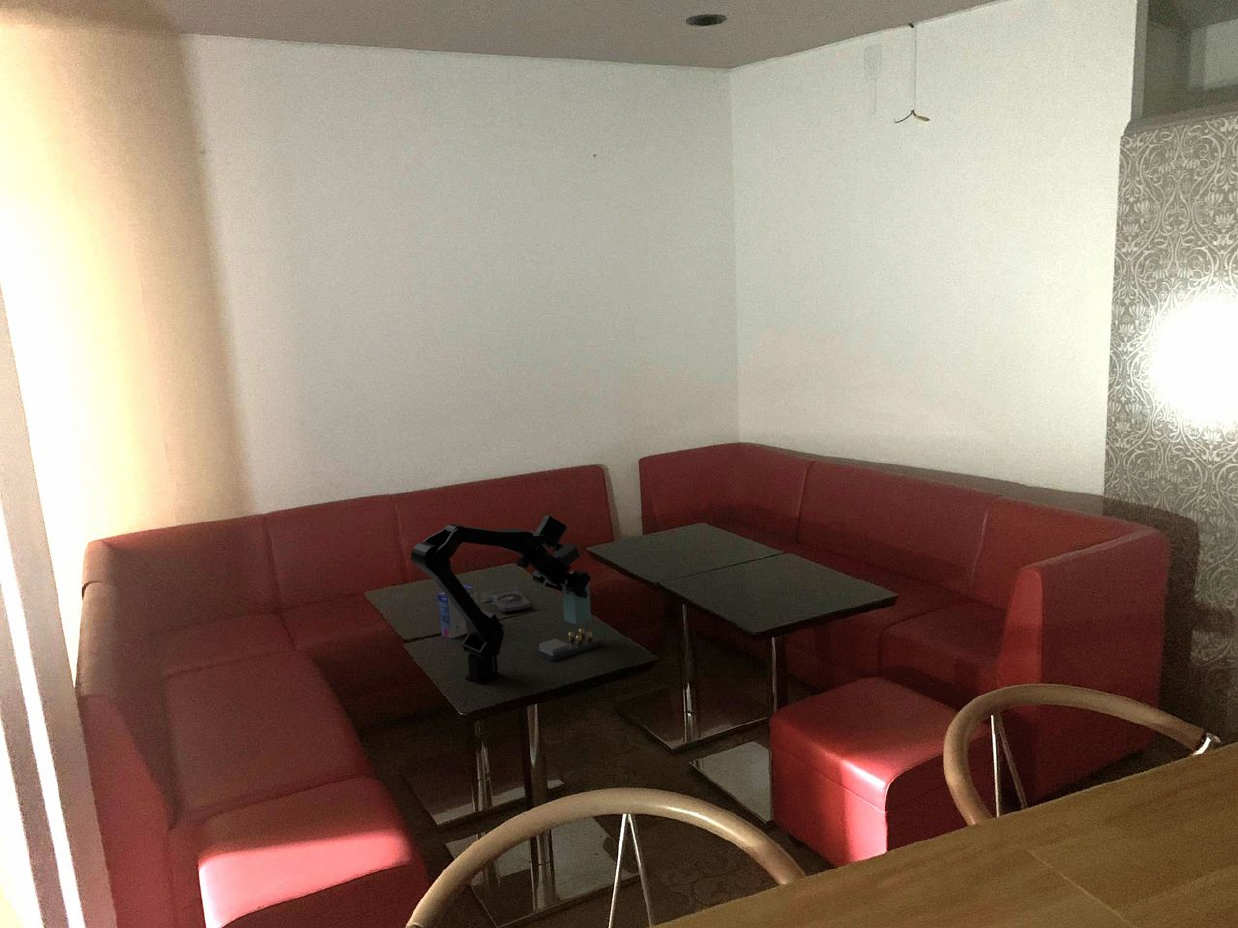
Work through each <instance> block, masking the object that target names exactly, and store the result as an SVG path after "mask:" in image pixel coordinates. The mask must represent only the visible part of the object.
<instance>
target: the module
mask: <svg viewBox="0 0 1238 928" xmlns="http://www.w3.org/2000/svg"><path fill="white" fill-rule="evenodd" d="M573 572H574V571H572V572H570V573H573ZM566 584H567V582H566V583H565V585H566ZM565 585H562V591H561V592H562V604H563V605H562V607H563V619H564V622H567V623H571V624H572V625H579V624H583V623H586V622H590V621H591V620H592V614H591V613H592V612H591V610H592V609H591V593H590V582H589V583H588V584H587V586H586V588H585V590H586V592H587V594H588V596H587V598H582V597H578V596H574V595H570V594H567V593H566V592H567V591H566V587H565Z"/></svg>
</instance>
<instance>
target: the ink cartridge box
mask: <svg viewBox="0 0 1238 928" xmlns="http://www.w3.org/2000/svg"><path fill="white" fill-rule="evenodd" d="M462 585H463V587H464V588H465V589H466V591H467V592H468V593H469V595H470V596H471V597H472V599H473V600H474V601H475V603H476V604H477V605H478V600H477V590H476V589H477V588H476V587H475V586H470V585H467V584H462ZM436 595H437V603H438V611H439V612H438V613H439V620H440V629H441V636H443V637H446V638H449V639H455V638H457V637H461V636H463V635H466V634H469V633H468V631H467V628H466V621H465V619H464V618H463V617H462V615H461V614H460V613H459V611H458V610H457V609H456V607H455V606H454V605H453V603H452V602H451V601H450V600H449V598H448V597H447V596H446V594H445V593H444V592H443V591H442V592H439V593H437V594H436Z"/></svg>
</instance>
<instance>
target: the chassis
mask: <svg viewBox="0 0 1238 928" xmlns="http://www.w3.org/2000/svg"><path fill="white" fill-rule="evenodd" d="M601 646H603V639H602V638H599V637H596V636H595V635H593V631H585V628H583V627H582V628H579V629H578V633H577V634H575V632H574V631H568V637H564V638H562V639H560V640H559V639H557V638H553V639H549V640H547V641H544V642H540V643H539V645H538V646H536V647H534V648H533V652H534V655H537V656H539V657H541V658H542V659H546V660H547V661H549V662H555V661H558V660H562V659H565V658H568V657H570V656H574V655H578V654H580V653H583V652H586V651H589V650H593V649H595V648H598V647H601Z"/></svg>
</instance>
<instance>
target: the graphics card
mask: <svg viewBox="0 0 1238 928" xmlns="http://www.w3.org/2000/svg"><path fill="white" fill-rule="evenodd" d="M496 593H497V594H496ZM480 598H483V599H481V600H480V601H481V602H483V603H487V601H489V602H490V603H491V604H492V605H495V607H496V608H498V610H499V611H502V612H503V613H507V611H508V612H513V610H514V611H516V612H523V610H525V609H527V608H530V607H531V606H532V605H531V601H530V600H528V599H527V598H526V597H525V596H524V595H523V594H522V592H520V591H519V590H518V586H513V587H512V586H511V587H507V588H501V589H496V590H492V591H491V590H490V591H486V592H482V593H481V594H480ZM492 601H493V602H492ZM481 602H480V603H481ZM493 603H494V604H493Z"/></svg>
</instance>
